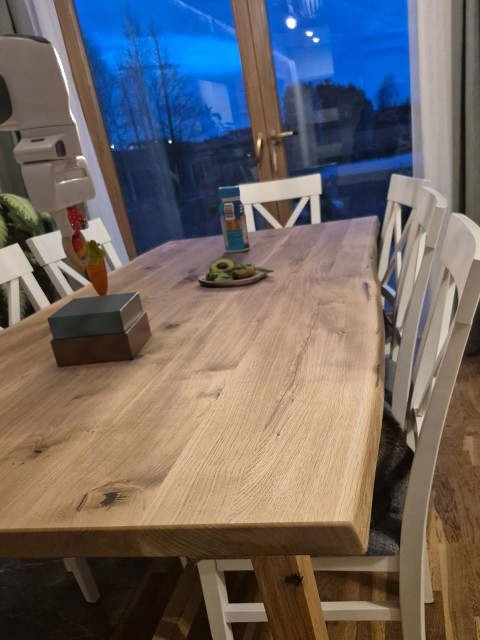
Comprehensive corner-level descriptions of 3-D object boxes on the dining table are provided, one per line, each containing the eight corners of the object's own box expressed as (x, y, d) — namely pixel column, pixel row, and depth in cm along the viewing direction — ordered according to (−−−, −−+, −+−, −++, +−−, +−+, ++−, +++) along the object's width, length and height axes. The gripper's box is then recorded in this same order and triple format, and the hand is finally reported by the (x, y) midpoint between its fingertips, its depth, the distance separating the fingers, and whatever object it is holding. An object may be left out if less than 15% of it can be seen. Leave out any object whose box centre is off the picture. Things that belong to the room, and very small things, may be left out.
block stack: (57, 367, 105) (43, 319, 101) (84, 341, 117) (72, 298, 114) (133, 359, 104) (121, 311, 100) (151, 334, 117) (141, 290, 113)
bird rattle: (102, 281, 103) (109, 252, 109) (79, 226, 95) (88, 198, 101) (67, 285, 104) (76, 255, 110) (41, 230, 95) (53, 202, 101)
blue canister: (220, 252, 193) (210, 188, 184) (240, 247, 198) (231, 185, 189) (235, 254, 187) (225, 188, 179) (255, 248, 192) (247, 185, 184)
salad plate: (285, 270, 158) (283, 253, 156) (258, 287, 143) (256, 269, 141) (223, 271, 165) (220, 255, 163) (191, 288, 150) (187, 270, 148)
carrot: (105, 295, 153) (91, 237, 146) (117, 296, 150) (103, 237, 144) (90, 300, 149) (74, 241, 143) (101, 302, 146) (86, 242, 140)
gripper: (59, 147, 105) (79, 225, 111) (7, 151, 87) (34, 245, 93) (93, 143, 105) (111, 222, 111) (48, 146, 86) (73, 241, 92)
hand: (76, 232), depth 102 cm, fingers closed on bird rattle, 6 cm apart
